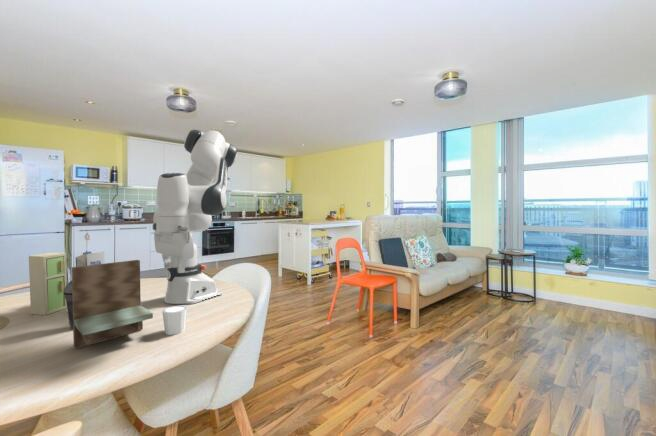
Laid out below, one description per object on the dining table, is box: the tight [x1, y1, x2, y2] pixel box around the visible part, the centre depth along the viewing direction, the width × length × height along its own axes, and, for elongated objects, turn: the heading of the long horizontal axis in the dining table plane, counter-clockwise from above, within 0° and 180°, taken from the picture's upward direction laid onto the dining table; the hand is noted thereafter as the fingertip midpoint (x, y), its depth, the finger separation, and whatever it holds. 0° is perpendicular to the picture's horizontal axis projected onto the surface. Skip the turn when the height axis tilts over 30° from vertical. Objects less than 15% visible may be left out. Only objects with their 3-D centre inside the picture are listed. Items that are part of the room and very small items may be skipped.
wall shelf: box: [71, 259, 154, 349], centre depth 86 cm, size 16×12×22 cm
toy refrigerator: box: [28, 252, 68, 316], centre depth 111 cm, size 8×7×21 cm
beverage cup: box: [64, 265, 83, 331], centre depth 97 cm, size 7×7×20 cm
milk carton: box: [75, 251, 105, 267], centre depth 124 cm, size 7×7×20 cm
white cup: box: [162, 305, 188, 336], centre depth 95 cm, size 7×7×7 cm
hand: (174, 270), depth 94 cm, fingers open, 8 cm apart
